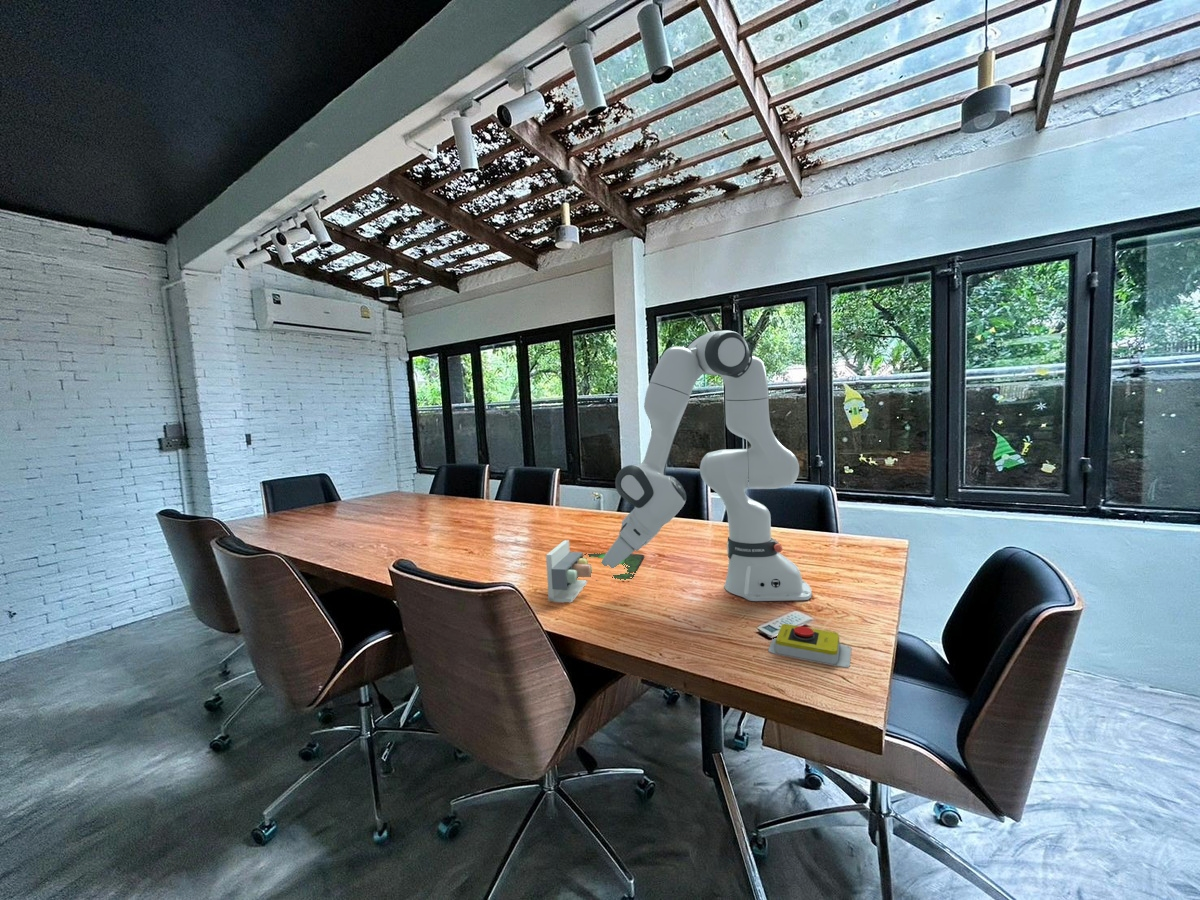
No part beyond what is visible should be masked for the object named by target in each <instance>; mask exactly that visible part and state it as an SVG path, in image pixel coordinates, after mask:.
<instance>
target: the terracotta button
mask: <svg viewBox="0 0 1200 900" xmlns="http://www.w3.org/2000/svg"><path fill="white" fill-rule="evenodd" d="M572 569H573V570H577V577H591V573H592V567H591V564H573V565H572Z"/></svg>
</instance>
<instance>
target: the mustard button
mask: <svg viewBox="0 0 1200 900" xmlns="http://www.w3.org/2000/svg"><path fill="white" fill-rule="evenodd" d="M578 564H588V561H587V558H579V559H578Z"/></svg>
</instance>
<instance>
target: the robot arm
mask: <svg viewBox="0 0 1200 900" xmlns="http://www.w3.org/2000/svg"><path fill="white" fill-rule="evenodd" d="M703 375H708V376H720V377H721V379H722V382H723V384H724V403H725V404H724V405H725V406H724V409H725V410H724V411H725V426H726V428H727V430H729V432H730V433H732V434H734V435H735V436H737V437H739V438H742V439H744V440H746V441H748V442H749V444H750V448H733V449H729V448H728V449H726V448H725V449H718V450H714V451H709V452H707V453H706V454H705V455H704V456H703V457H702V459H701V461H700V464H699V474H700V477H701V479H702V481H703V483H705V485H706V486H708V487H709V488H710V489H712V490H713V491H714V492H715V493H716V494H717V495H718V496H719V497H720V498H719V499H721V502H723V504H724V507H725V509H726V514H727V522H728V537H727V542H726V548H727V549H726V550H727V551H726V552H727V558H728V566H727V574H726V579H725V583H724V586H723V587H724V589H725V591H727V592H728V593H730V594H733V595H736V596H739V597H742V598H744V599H745V600H747V601H751V602H773V601H775V602H777V601H778V602H779V601H780V602H781V601H783V602H784V601H809V600H810V599H811V598H812V588H811V586H810V585H809V584H808V583H807V582H806V581H804V580H803V577H802V574H801V571H800V569H799V568H798V566H797V565H796V564H795V563H794V562H793V561H791V560H790V559H789V558H788V557H786V556H784V555H783V554H781V552H782V551H783V547H782V545H781V544H780V543H779V541H778V540H777V539H775V538H772V535H771V534H772V532H771V530H772V529H771V526H772V525H771V521H772V519H771V517H772V516H771V512H770V511H769V509H768V508H767V506H765V505H764V504H763V503H761V502H759V501H757V500H754V499H753V498H750V497H749V496H748V495H747V494H746V491H747V490H771V489H772V490H774V489H776V490H777V489H780V488H787V487H790V486H792V485H793V484H794V483H795V482H796V481H797V479H798V477H799V475H800V464H799V460H798V458H797V456H796V455H795V454H794V453H793V452H792V451H791V450H790V449H788V448H786V446H784V445H782V443H781V442H780V440H778V439H777V437H776V436H775V434H774V431H773V429H772V425H771V420H770V409H769V400H770V399H769V384H768V377H767V372H766V367H765V363H764V362H763V360H762V359H761V358H760V357H757V356H754V355H753V354H752V352H751V351H750V349H749V345H748V343H747V341H746V339H745V338H744V337H743V336H742V335H741V334H740V333H738V332H736V331H734V330H733V331H732V330H726V329H725V330H714V331H710V332H707V333H704V334H701V335H698V336H697V337H695V338H693V339H692V340H691V341H690V342H689V343H688V344H687V345H686V346H671V347H669V348H667V349H666V350H664V352H663V354H662V355H661V357H660V359H659V361H658V363H657V364H656V367H655V369H654V370H653V373H652V375H651V378H650V380H649V384H648V387H647V389H646V393H645V398H644V403H643V408H644V411H645V414H646V416H647V418H648V419H649V423H650V426H651V435H650V439H649V442H648V445H647V450H646V453H645V456H644V459H643V460H642V462H641V463H640V464H631V465H630V464H629V465H626V466H624V467H622V468H621V469H620V470H619V471H618V472H617V474H616V476H615V482H614V483H615V489H616V491H617V493H618V495H620V497H621V498H622V499H623V500H624V501H627V503H629V504H630V505H631V506H633V507H634V508H633V509H632V510H631V511H630V512H629V513H628V514H627V515H626V516H625V517H624V519H622V521H621V528H620V530H619V533H618V534H619V535H618V536H617V538H616V540H615V541H614V542H613V543H612V545H611V546H610V547H609V549H608V550H607V552H606V554H605V556H604V557H603V560H602V562H601V563H602V564H603V565H604V566H607V565H609V566H610V567H611V568H614V567H616V566H617V565H619V564H620V563H621V562H622V561H623V560H625V559H626V558H627V557H628V556H629V555H630V554H634V552H635V551H636V552H638V551H639V550H641V549H642V548H643V547H644V546H647V545H648V543H650V542H651V540H652V539H654V537H656V536H657V534H659V532H660V531H661V529H662V527H664V526H665V525H667V524H668V523H669V522H670V521H672V520H673V518H675V517H676V515H678V513H679V512H680V510H682V509H683V507H685V506H684V505H685V504H686V501H687V493H686V491H685V489H684V486H683V485H682V483H680V481H679V480H677V478H675V477H674V476H672V475H666V474H667V473H666V472H667V471H666V468H667V463H668V461H669V457H670V454H671V450H672V447H673V443H674V441H675V439H676V438H675V437H676V433H677V430H678V428H679V426H680V422H681V420H682V417H684V416H683V415H684V413H685V411H686V408H687V405H688V404H689V401H690V397H691V395H692V392H693V389H694V386H695V384H696V383H697V381H698V379H699V378H700V377H701V376H703Z"/></svg>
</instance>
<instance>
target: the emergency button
mask: <svg viewBox="0 0 1200 900" xmlns="http://www.w3.org/2000/svg"><path fill="white" fill-rule="evenodd" d="M840 642H841V641H840V634H839V633H838V632H835V631H832V630H825V629H819V628H812V627H808V626H800V625H795V624H794V625H793V624H788V623H783V624H781V626H780V628H779V630H778V635H777V638H774V639H773V638H772V640H771V641H770V645H769V647H768V649H767V650H768V652H769V653H770V654H773V655H777V656H778V655H779V656H783V657H790V658H794V659H797V660H798V659H800V660H804V661H808V662H813V663H820V664H824V665H825V664H826V665H828V666H829V665H831V666H834V667H839V668H845V669H847V668H850V667H851V660H852V659H851V658H852V648H851V646H849V645H846V644H842V643H840Z"/></svg>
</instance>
